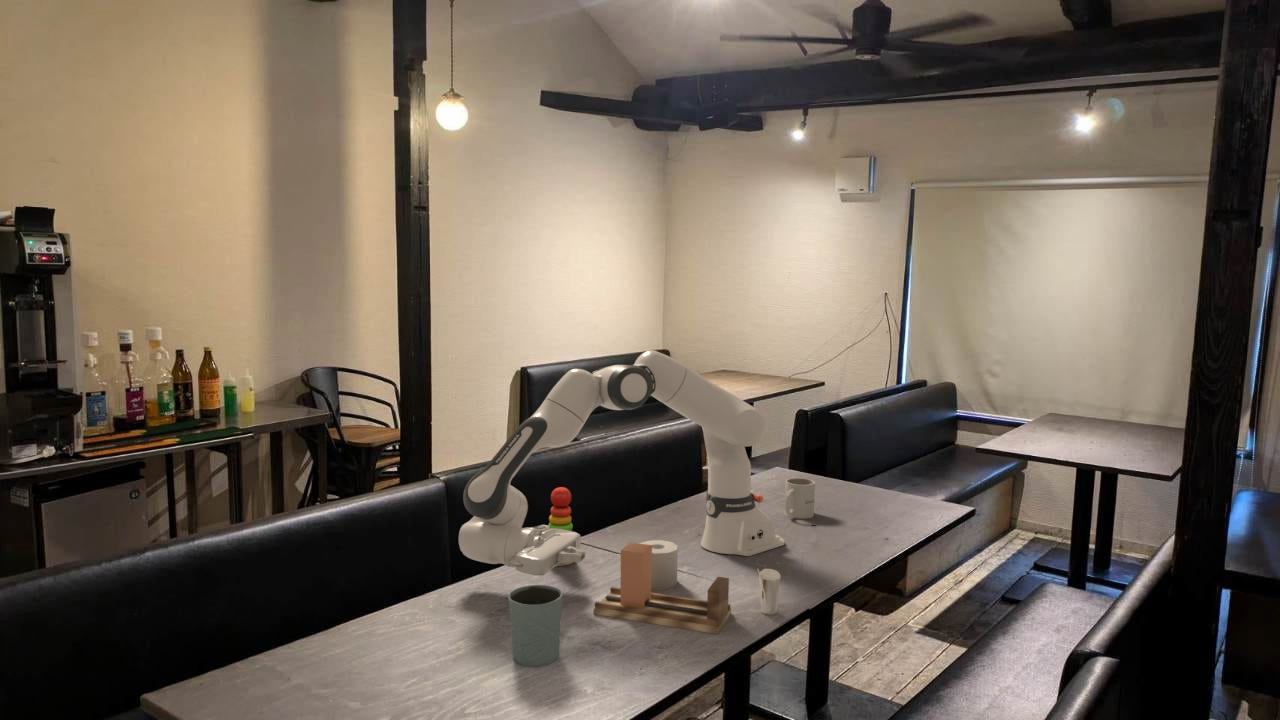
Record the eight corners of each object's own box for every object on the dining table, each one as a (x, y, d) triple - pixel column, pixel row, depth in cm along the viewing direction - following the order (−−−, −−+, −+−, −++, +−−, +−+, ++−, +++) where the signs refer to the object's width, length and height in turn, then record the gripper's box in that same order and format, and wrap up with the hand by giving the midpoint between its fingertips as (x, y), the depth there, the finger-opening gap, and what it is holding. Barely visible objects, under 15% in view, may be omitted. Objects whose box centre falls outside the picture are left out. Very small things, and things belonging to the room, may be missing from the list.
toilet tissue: (618, 577, 198) (618, 541, 197) (673, 574, 200) (673, 539, 199) (623, 591, 189) (624, 554, 188) (681, 588, 191) (681, 552, 190)
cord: (605, 600, 181) (605, 595, 181) (606, 598, 182) (606, 594, 182) (712, 616, 173) (712, 612, 173) (713, 615, 174) (713, 610, 174)
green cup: (516, 672, 151) (516, 608, 150) (502, 648, 160) (502, 588, 159) (570, 662, 155) (570, 599, 154) (553, 640, 164) (553, 580, 163)
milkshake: (750, 610, 180) (751, 564, 179) (772, 606, 182) (773, 561, 181) (761, 618, 175) (763, 572, 174) (783, 614, 178) (785, 568, 176)
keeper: (620, 605, 177) (620, 550, 176) (629, 596, 183) (630, 542, 181) (642, 609, 176) (643, 553, 174) (651, 599, 181) (651, 545, 180)
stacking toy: (570, 568, 203) (570, 493, 201) (539, 565, 205) (539, 491, 203) (579, 557, 211) (579, 484, 209) (549, 555, 212) (549, 482, 210)
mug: (797, 508, 256) (798, 476, 255) (819, 515, 250) (820, 482, 249) (770, 515, 249) (771, 482, 247) (792, 522, 242) (794, 488, 241)
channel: (593, 613, 177) (593, 576, 176) (612, 595, 187) (613, 559, 186) (717, 634, 168) (718, 594, 167) (731, 613, 178) (731, 575, 177)
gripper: (502, 548, 177) (562, 557, 172) (546, 522, 196) (600, 529, 191) (502, 577, 177) (561, 587, 173) (546, 548, 197) (600, 556, 192)
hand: (582, 557), depth 182 cm, fingers closed
